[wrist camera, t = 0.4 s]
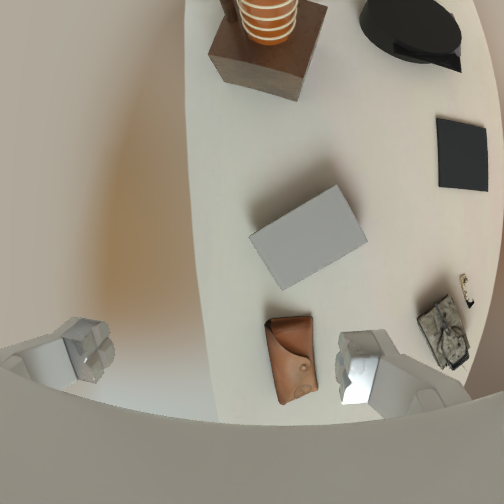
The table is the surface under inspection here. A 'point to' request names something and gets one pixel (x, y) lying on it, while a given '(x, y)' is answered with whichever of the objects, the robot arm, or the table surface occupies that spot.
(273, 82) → the hanger rack
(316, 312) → the table surface
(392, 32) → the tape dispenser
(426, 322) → the toy tank
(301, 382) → the sunglasses case
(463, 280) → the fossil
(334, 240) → the grey rectangular block
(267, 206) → the table surface
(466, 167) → the rubber mat
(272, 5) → the brown banded bottle
